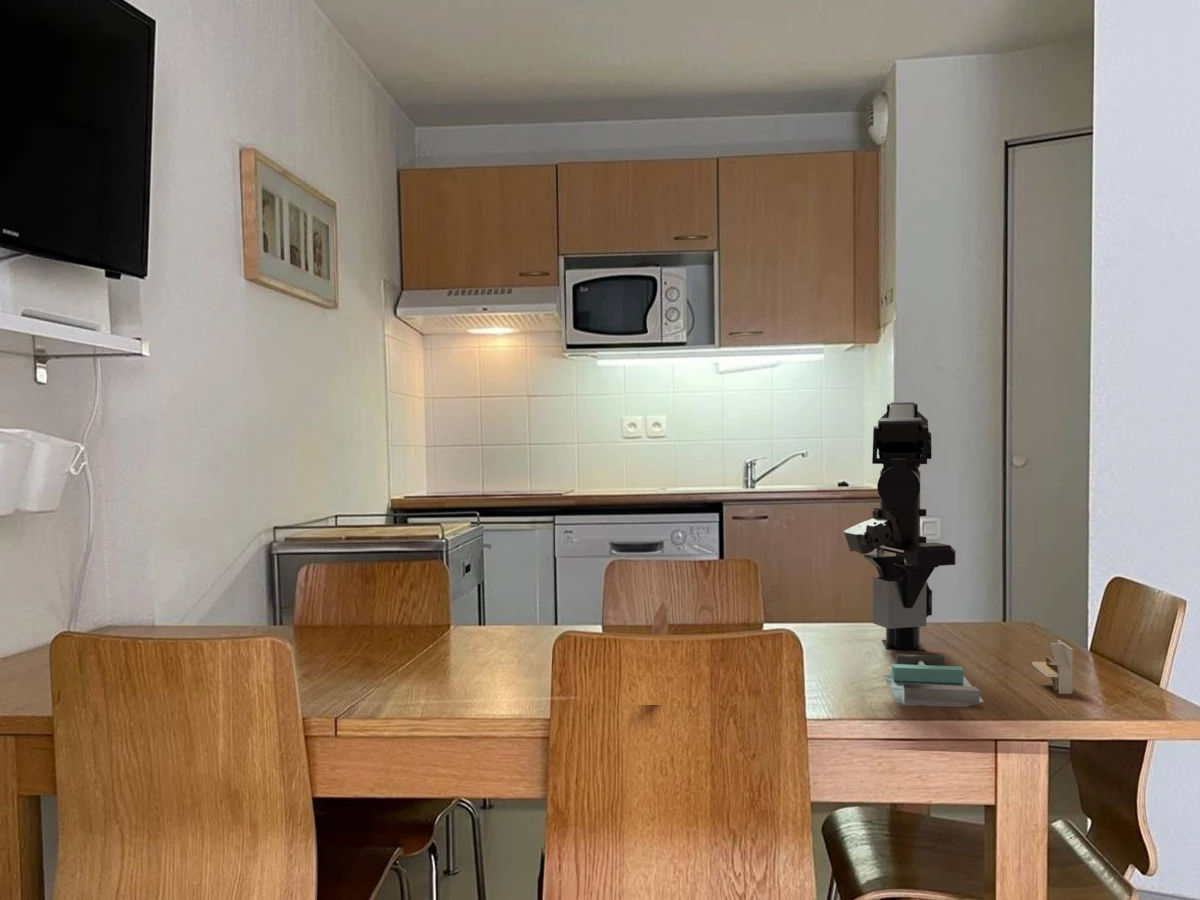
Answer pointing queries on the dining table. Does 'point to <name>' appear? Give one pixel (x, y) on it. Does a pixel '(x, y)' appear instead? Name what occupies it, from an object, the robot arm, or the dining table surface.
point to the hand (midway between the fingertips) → (899, 605)
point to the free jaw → (925, 669)
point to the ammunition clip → (660, 621)
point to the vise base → (899, 690)
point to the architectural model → (1059, 667)
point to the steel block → (896, 604)
